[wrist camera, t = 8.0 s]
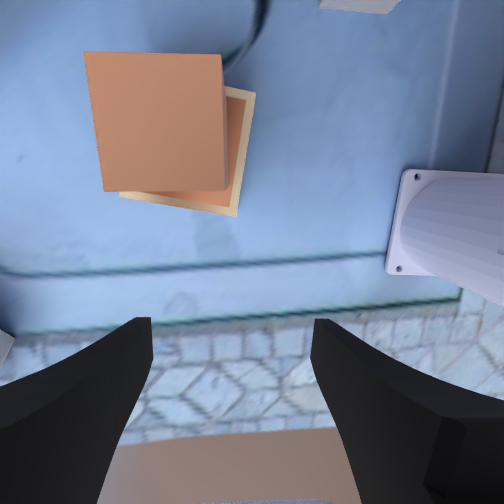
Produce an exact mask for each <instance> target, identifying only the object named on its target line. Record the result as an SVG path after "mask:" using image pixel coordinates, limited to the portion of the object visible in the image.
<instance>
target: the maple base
mask: <svg viewBox="0 0 504 504" xmlns="http://www.w3.org/2000/svg"><path fill="white" fill-rule="evenodd" d="M225 93H226V101H227V134H228V173H229V187H228V188H227V189H226V190H225V191H140V192H120V196H119V197H122V198H128V199H134V200H140V201H146V202H152V203H158V204H164V205H169V206H175V207H181V208H187V209H193V210H199V211H205V212H211V213H216V214H222V215H228V216H234V217H236V215H237V209H238V203H239V197H240V190H241V184H242V178H243V172H244V166H245V160H246V154H247V148H248V142H249V136H250V130H251V123H252V117H253V111H254V105H255V99H256V93H255V92H250V91H246V90H241V89H237V88H232V87H228V86H225Z"/></svg>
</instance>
